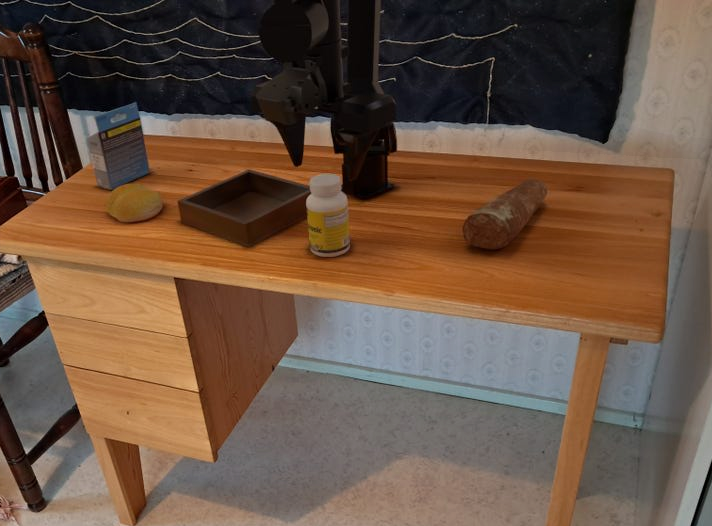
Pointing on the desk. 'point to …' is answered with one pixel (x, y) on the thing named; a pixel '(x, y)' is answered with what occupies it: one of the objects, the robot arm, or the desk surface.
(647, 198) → the desk surface
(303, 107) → the robot arm
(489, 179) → the desk surface
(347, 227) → the supplement bottle
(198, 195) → the tray
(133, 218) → the bread roll
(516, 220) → the salami
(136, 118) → the label tape box
